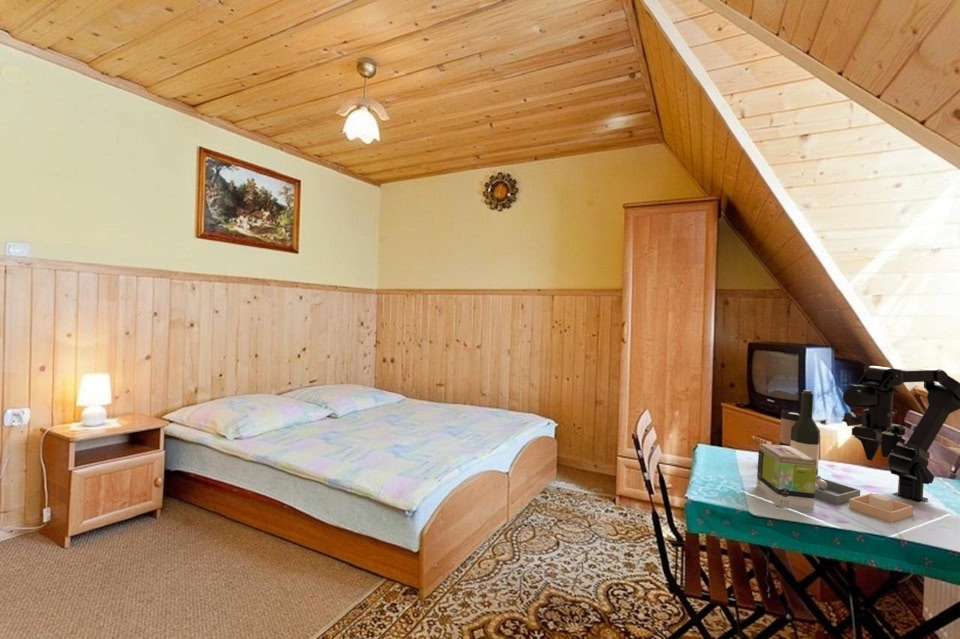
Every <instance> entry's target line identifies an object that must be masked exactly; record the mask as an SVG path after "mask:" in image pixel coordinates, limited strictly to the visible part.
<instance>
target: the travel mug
mask: <svg viewBox="0 0 960 639" xmlns="http://www.w3.org/2000/svg"><path fill="white" fill-rule="evenodd" d="M800 414H801V411H797V410H788V409H787V410H786V409H785V410H781V417H780V432H779V445H783V446H790V443H791V428H792V426H793V425H794V424H795V423H796V421H797V420H798V419H799V418H800Z"/></svg>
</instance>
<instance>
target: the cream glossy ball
mask: <svg viewBox="0 0 960 639" xmlns="http://www.w3.org/2000/svg"><path fill="white" fill-rule="evenodd" d="M815 483H816V484H817V485H818V487H819V489H820V490H825V489H826V488H827V483H826V482H825V481H824V480H822V479H818V480H816V482H815Z"/></svg>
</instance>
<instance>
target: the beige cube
mask: <svg viewBox="0 0 960 639" xmlns="http://www.w3.org/2000/svg"><path fill="white" fill-rule="evenodd" d="M872 494H873V495H870V496H869V505H871V506H874V507H877V508H880V509H883V510H886V511H889V512H893V500H894V498H893V497H890V496H889V497H888V496H885V495H883V494H882V495H881V494H879V493H872Z"/></svg>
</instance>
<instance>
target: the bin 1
mask: <svg viewBox="0 0 960 639" xmlns="http://www.w3.org/2000/svg"><path fill="white" fill-rule="evenodd" d="M818 479H822V480H824V481H825V482H826V483H827V488H826V489H825V490H820V489H815V496H814V499H818V500H822V501H825V502H827V503H830V504H833V505H842V504H845V503H849V499H851V498H854V497H858V496H861V489H858V488H855V487H851V486H849V485H846V484H842V483H839V482H835V481H832V480H829V479H826V478H823V477H822V476H820V475H818V476H817V475H816V480H818Z"/></svg>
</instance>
